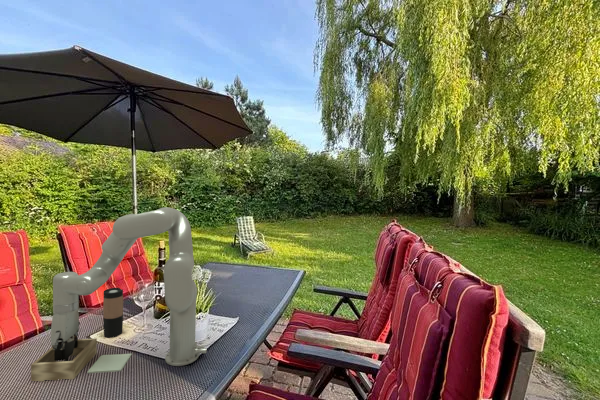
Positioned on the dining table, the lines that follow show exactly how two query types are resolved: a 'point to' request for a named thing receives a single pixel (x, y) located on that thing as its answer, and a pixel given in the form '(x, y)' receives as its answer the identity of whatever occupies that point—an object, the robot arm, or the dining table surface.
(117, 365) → the mat
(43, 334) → the dining table surface
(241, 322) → the dining table surface
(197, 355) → the robot arm
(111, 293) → the travel mug
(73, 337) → the sundae
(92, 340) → the crate
